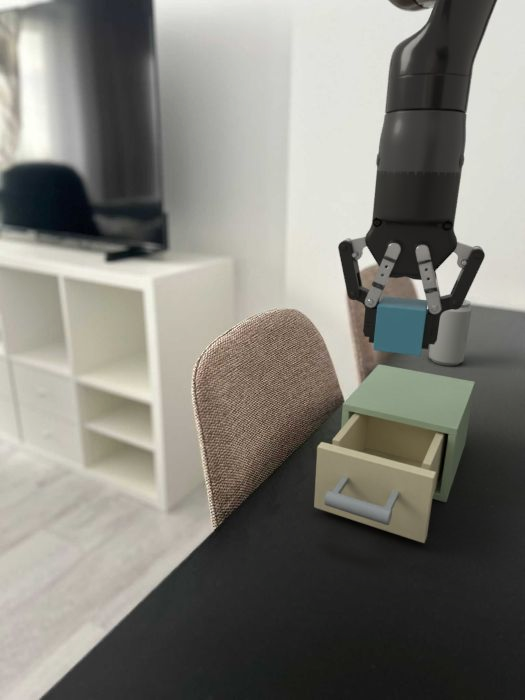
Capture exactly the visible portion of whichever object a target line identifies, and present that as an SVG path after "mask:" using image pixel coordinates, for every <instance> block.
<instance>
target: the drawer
mask: <svg viewBox="0 0 525 700" xmlns="http://www.w3.org/2000/svg"><path fill="white" fill-rule="evenodd" d="M447 437H448V434H446V433H442V432H438V431H433V430H429V429H425V428H420V427H416V426H412V425H407V424H403V423H399V422H394V421H390V420H386V419H381V418H377V417H372V416H368V415H364V414H359V413H354V414H353V416H352V417H351V418H350V419H349V420H348V422H347V423H346V424H345V425H344V426H343V428H342V429H341V428H340V429H339V431H338V432H337V434H335V436H334V437H333V438H332V442H331V443H332V444H331V443H328V442H325V441H321V442H320V443H319V444H318V445H317V447H316V464H315V465H316V466H315V484H314V501H313V502H314V505H313V508H315V509H317V510H320V511H324V512H327V513H330V514H333V515H335V516H339V517H342V518H345V519H349V520H350V521H351V520H352V521H355V522H357V523H360V524H364V525H367V526H370V527H373V528H376V529H379V530H382V531H385V532H388V533H391V534H394V535H398V536H400V537H403V538H406V539H410V540H413V541H416V542H418V543H421V544H425V543H426V540H427V538H428V530H429V525H430V518H431V511H432V510H431V509H432V503H433V499H432V497H433V495H434V492H435V489H436V487H437V484H438V481H439V479H440V476H441V473H442V470H443V464H444V457H445V451H446V444H447Z"/></svg>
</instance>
